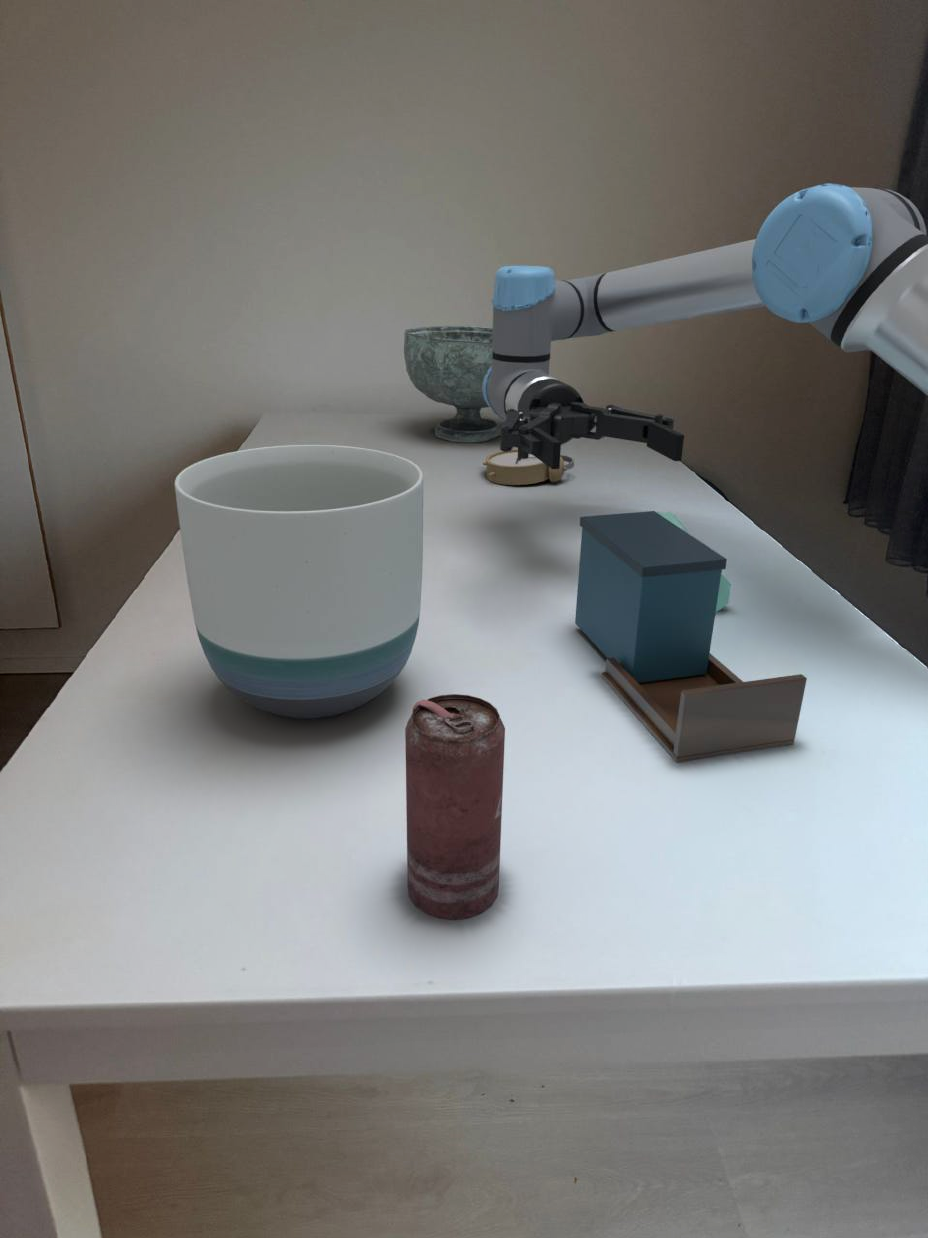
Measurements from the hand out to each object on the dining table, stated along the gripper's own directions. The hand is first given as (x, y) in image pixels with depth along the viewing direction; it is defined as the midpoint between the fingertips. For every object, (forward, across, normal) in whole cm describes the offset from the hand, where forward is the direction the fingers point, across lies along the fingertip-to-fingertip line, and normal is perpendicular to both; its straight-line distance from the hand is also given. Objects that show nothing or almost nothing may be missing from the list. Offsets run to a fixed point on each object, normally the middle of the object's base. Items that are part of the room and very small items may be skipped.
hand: (619, 452), depth 92 cm
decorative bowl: (-89, -10, -19) cm, 92 cm away
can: (+37, +28, -20) cm, 50 cm away
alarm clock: (-57, -12, -20) cm, 62 cm away
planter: (+8, +33, -20) cm, 39 cm away
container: (-12, -15, -20) cm, 27 cm away
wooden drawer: (+19, 0, -20) cm, 27 cm away
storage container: (+8, 0, -18) cm, 20 cm away
